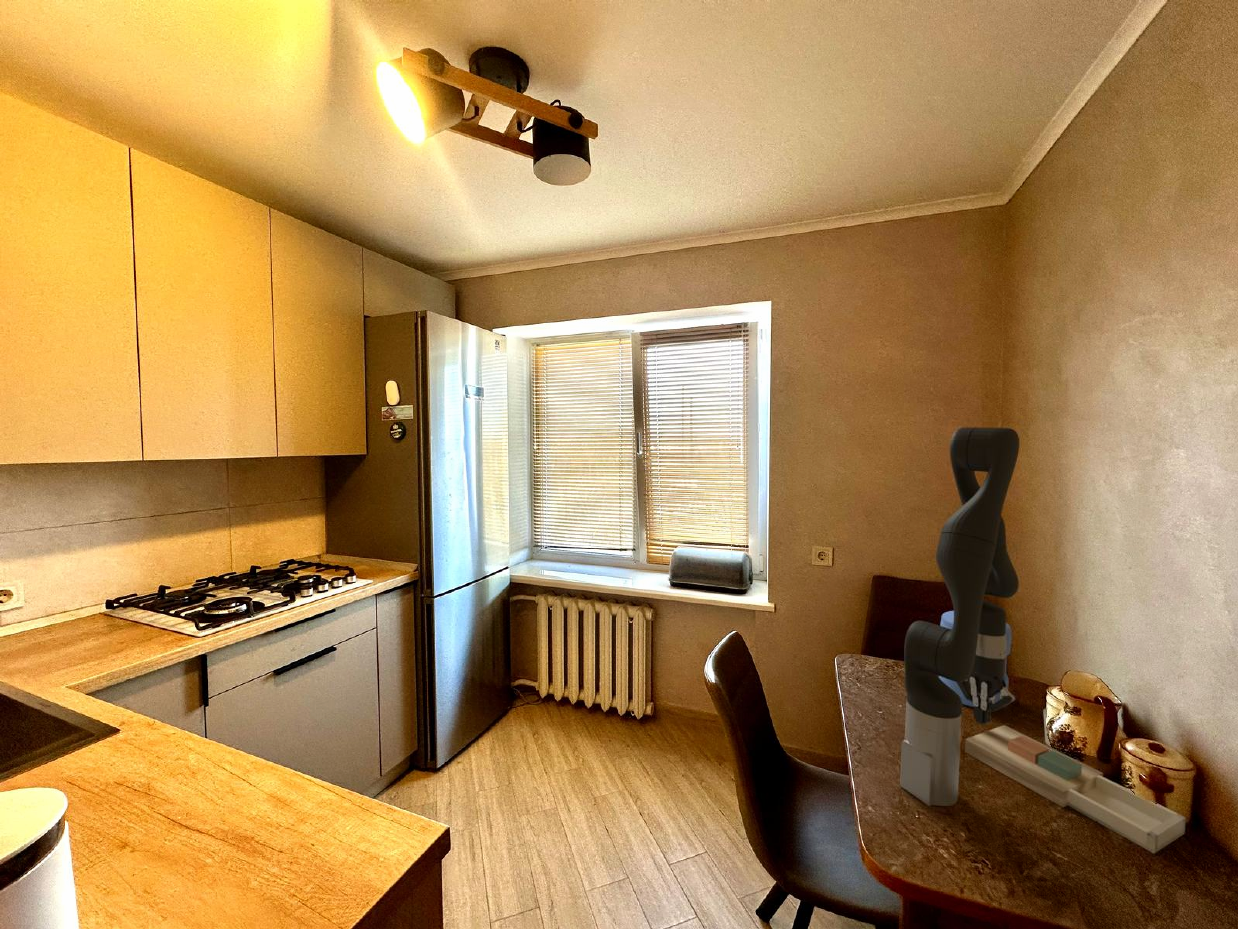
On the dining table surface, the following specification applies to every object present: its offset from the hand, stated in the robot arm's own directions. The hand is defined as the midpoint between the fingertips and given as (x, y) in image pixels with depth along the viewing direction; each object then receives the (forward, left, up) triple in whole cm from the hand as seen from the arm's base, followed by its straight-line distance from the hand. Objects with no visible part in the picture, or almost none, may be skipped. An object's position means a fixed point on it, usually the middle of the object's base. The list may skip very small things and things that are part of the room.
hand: (981, 723), depth 114 cm
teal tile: (0, -15, -2) cm, 15 cm away
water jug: (+20, +14, -5) cm, 25 cm away
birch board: (0, -10, -5) cm, 11 cm away
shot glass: (+16, -8, -5) cm, 18 cm away
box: (0, -25, -5) cm, 25 cm away
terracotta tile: (0, -10, -2) cm, 10 cm away
